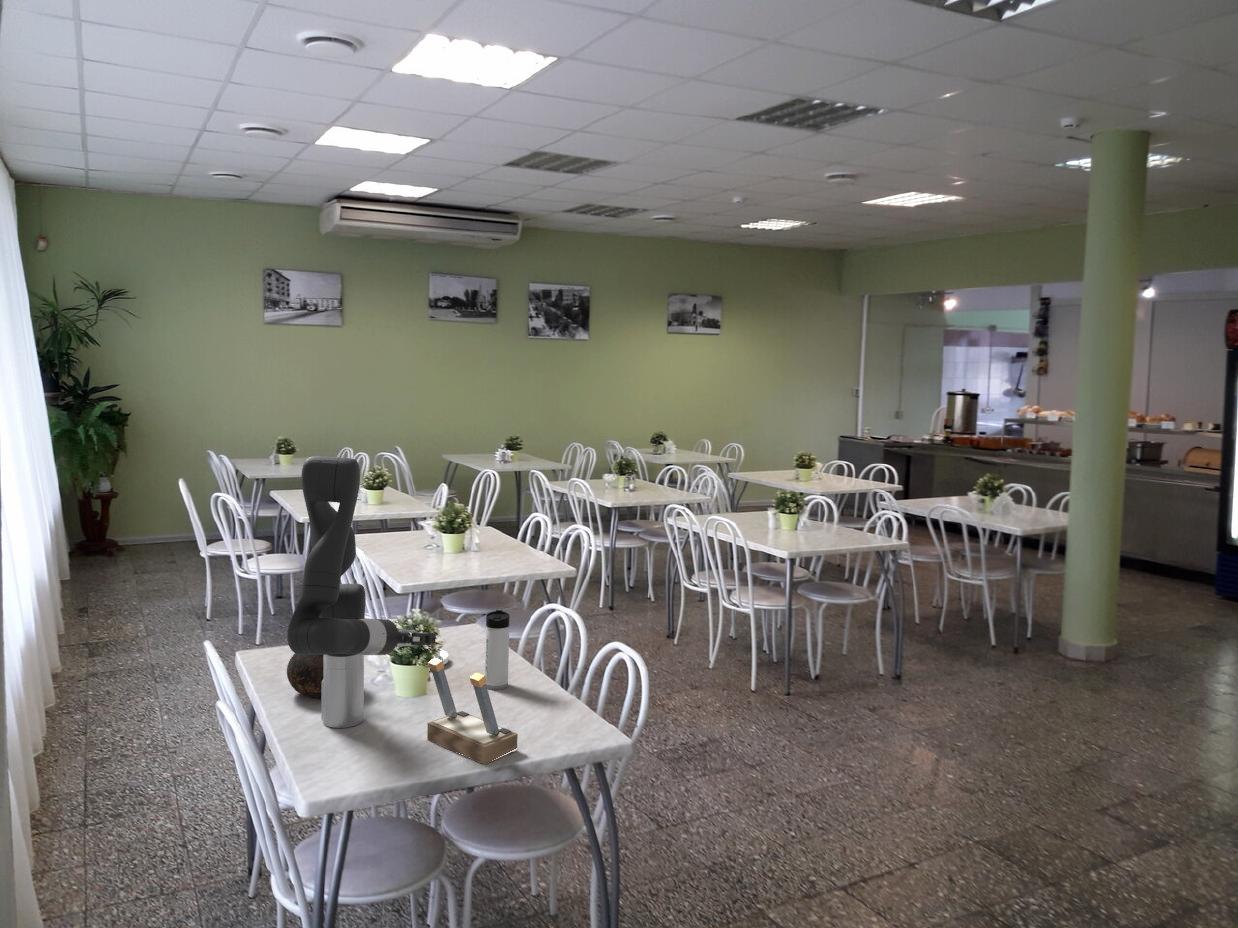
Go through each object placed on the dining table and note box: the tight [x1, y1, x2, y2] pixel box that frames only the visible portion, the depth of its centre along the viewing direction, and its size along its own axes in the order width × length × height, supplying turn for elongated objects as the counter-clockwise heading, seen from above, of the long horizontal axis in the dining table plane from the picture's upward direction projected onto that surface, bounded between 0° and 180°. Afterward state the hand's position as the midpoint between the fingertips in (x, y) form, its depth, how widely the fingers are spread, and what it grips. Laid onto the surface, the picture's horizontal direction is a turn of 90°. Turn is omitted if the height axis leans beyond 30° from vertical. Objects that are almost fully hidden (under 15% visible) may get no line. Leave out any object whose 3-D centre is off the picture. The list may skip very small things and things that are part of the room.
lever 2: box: [469, 672, 499, 736], centre depth 200 cm, size 3×2×15 cm
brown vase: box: [286, 653, 323, 700], centre depth 234 cm, size 18×18×28 cm
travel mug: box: [484, 609, 510, 691], centre depth 244 cm, size 6×7×20 cm
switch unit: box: [426, 710, 519, 765], centre depth 207 cm, size 19×10×5 cm, turn 51°
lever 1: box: [428, 657, 458, 719], centre depth 208 cm, size 3×2×15 cm
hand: (418, 637), depth 206 cm, fingers open, 8 cm apart
